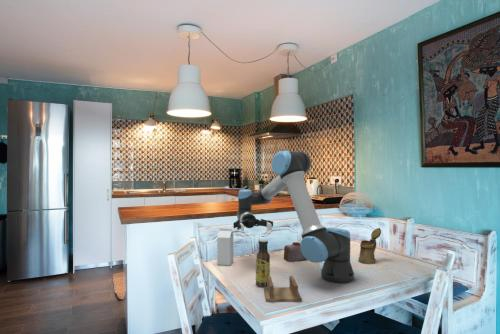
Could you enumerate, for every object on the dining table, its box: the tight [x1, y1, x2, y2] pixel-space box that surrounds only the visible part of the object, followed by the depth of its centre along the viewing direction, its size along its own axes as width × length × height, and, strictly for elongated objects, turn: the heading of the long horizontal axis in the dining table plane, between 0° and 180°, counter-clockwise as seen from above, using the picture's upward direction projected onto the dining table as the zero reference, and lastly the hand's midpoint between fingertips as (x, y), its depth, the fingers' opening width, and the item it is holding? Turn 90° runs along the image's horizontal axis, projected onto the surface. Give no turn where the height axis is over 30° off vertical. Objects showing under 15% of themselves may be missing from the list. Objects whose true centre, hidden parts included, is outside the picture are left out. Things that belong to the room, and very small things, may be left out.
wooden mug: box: [357, 227, 382, 265], centre depth 178 cm, size 9×14×18 cm, turn 111°
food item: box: [283, 241, 307, 263], centre depth 181 cm, size 14×8×10 cm, turn 115°
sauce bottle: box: [255, 239, 271, 288], centre depth 143 cm, size 6×6×20 cm
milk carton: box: [216, 228, 234, 267], centre depth 174 cm, size 7×7×19 cm
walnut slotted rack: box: [263, 275, 303, 303], centre depth 131 cm, size 14×12×6 cm
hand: (257, 227), depth 152 cm, fingers open, 13 cm apart
